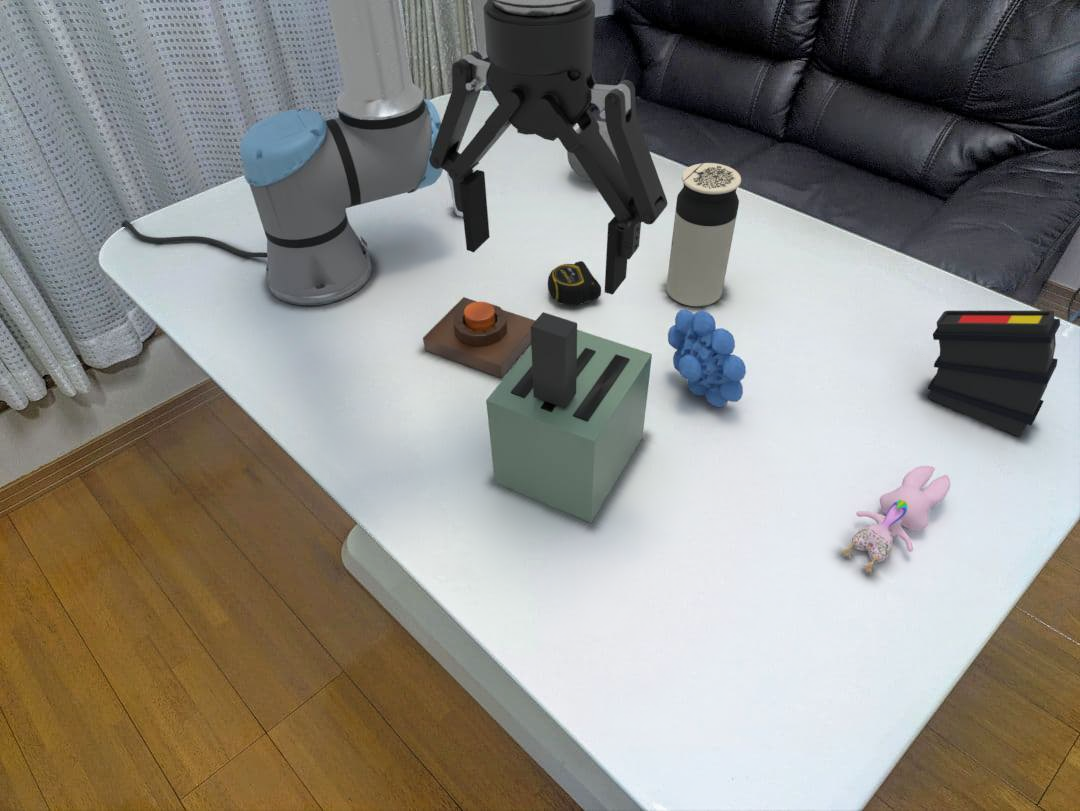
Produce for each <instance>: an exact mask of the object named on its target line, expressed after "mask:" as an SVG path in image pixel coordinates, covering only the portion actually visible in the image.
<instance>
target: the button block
mask: <svg viewBox="0 0 1080 811" xmlns="http://www.w3.org/2000/svg"><path fill="white" fill-rule="evenodd" d="M474 302H478V301H477V300H474V299H470V298H468V297H465V296H463V297H462V298H461V299H460V300H459V301H458V302H457V303H456V304H455V305H454V306H453V307H452V308H451V309H450V310H449V311H448V312H447V313H446V314H445V315H444V316H443V317H442V318H441V319H440V320H439V321H438V322H437V323H436V324H435V325H434V326H433V327H432V328H431V329H430V330H429V331H428V332H427V333H426V334H425V335H424V336H423V337H422V341H423V345H424V347H423V348H424V350H425V351H426V352H429V353H431V354H434V355H436V356H440V357H443V358H445V359H447V360H451V361H453V362H456V363H458V364H461V365H464V366H467V367H470V368H473V369H475V370H479V371H480V372H484V373H486V374H488V375H492V376H494V377H496V378H497V377H498V378H500V379H502V378H503V377H504V376H505V375H506V374H507V372H509V370H511V368H512V366H513V365H514V364H515V363H516V362H517V360H518V359H519V358H520V357H521V356H522V354H523V353H524V352H526V351H527V349H528V347H529V346H531V325H532V324H533V323H534V322H535V321H536V320H535V319H532V318H529V317H526V316H523V315H520V314H517V313H514V312H510V311H508V310H505V309H503V308H501V307H500V306H499V305H496V304H492V303H490V302H488V303H489V304H491V305H492V306H493V307H494V310H495V323H494V325H493V326H492V327H490V328H487V329H485V330H473V329H470V328H468V327H467V326H466V324H465V317H464V310H465V308H466V307H467V306H468V305H469V304H471V303H474Z"/></svg>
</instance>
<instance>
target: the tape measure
mask: <svg viewBox="0 0 1080 811" xmlns="http://www.w3.org/2000/svg"><path fill="white" fill-rule="evenodd" d="M547 291H548V293H549V296H551V298H552V299H553V300H554V301H555V302H556V303H559V304H561V305H564V306H580V305H582V304H585V303H587V302H591V301H594V300H595V301H596V300H597V299H599V298H600V297H601V296H602V286H601V285H600V283H599V281H598V280H597V279H596V278H595V277H594V276H593V274H592V273H591V271H590V270H589V268H588V266H587V264H586V263H585V262H584V261H582V260H580V261H576V262H574V263H564V264H560V265H558V266H556V267H554V268H553V269H552V270H551V271H550V272H549V275H548V278H547Z"/></svg>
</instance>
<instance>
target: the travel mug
mask: <svg viewBox="0 0 1080 811" xmlns="http://www.w3.org/2000/svg"><path fill="white" fill-rule="evenodd" d="M681 182H682V183H683V184H682V185H683V187H682V188H681V189H680V191H679V192H678V194H677V197H676V202H675V203H676V204H675V212H674V221H673V228H672V237H671V246H670V254H669V260H668V269H667V278H666V287H665V288H666V292H667V294H668V296H669V297H670V298H671V299H673V301H676V302H677V303H679V304H682V305H685V306H690V307H705V306H709V305H712V304H714V303H716V302H717V301H718V300H720V298H721V297H722V296H723V290H724V284H725V279H726V276H727V270H728V265H729V264H728V263H729V259H730V254H731V253H730V252H731V248H732V244H733V238H734V232H735V226H736V222H737V215H738V212H739V205H740V200H739V196H738V194H737V191H738V190H737V189H738V188H739V187H740V185H741V184H742V177H741V174H740V173H739V172H738V171H737V170H735V169H734V168H732V167H731V166H729V165H725V164H722V163H715V162H702V163H696V164H692V165H690V166H688V167H686V168H685V169H684V170H683V171H682V173H681Z"/></svg>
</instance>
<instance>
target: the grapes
mask: <svg viewBox="0 0 1080 811" xmlns="http://www.w3.org/2000/svg"><path fill="white" fill-rule="evenodd" d="M674 317H675V318H674V324H673V325H672V326H671V327H670V328H669V329H668V332H667V341H668V344H669V345H670V347H671V348H673V349H674V350H675V351H674V353H673V356H672V365H673V368H674V369H675V370H676V371H677V372H679V374H680V376H681V377H682V378H684V379H685V380H686V381H687V387H688V390H689V392H691V393H692V394H693V395H696V396H698V397H706V401H707V402H708V403H709V404H711V405H712V406H713V407H716V408H723V407H725V406H726V405H727V404H728V402H731V403H733V402H734V403H737V402H739V401H740V400H741V399H742V397H743V394H744V387H743V383H742V382H741V381H742V380H743V379H745V376H746V374H747V370H746V363H745V362H744V360H743V359H742V358H741V357H740V356H738V355H736V354H733V353H734V350H735V348H736V344H735V343H736V341H735V340H736V339H735V338H734V335H733V334H732V333H731V332H730V331H729V330H727V329H725V328H722V327H721V328H716V326H717V325H716V320H715V318H714V316H713V315H712V314H711V313H710V312H708V311H705V310H697V311H696V312H695V313H693V312H692V311H691V310H688V309H680V310H679V311H678V312H676V314H675V316H674Z"/></svg>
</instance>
